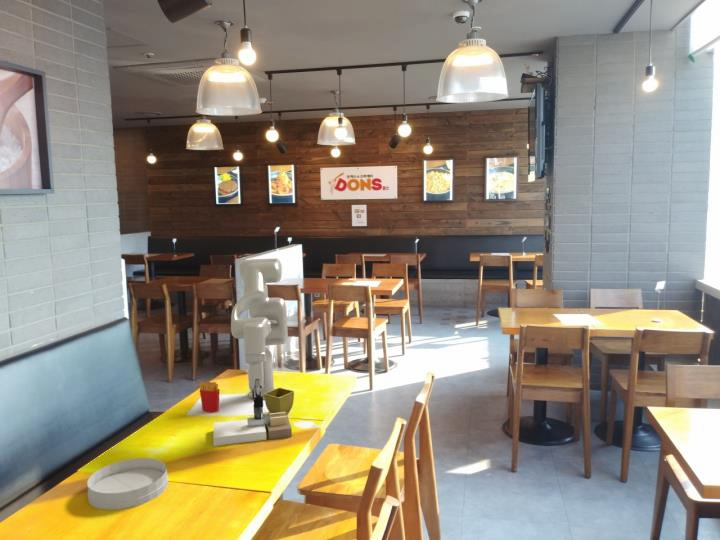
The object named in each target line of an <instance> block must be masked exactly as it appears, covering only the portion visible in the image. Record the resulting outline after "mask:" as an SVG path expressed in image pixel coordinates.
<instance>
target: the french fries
mask: <svg viewBox="0 0 720 540" xmlns="http://www.w3.org/2000/svg"><path fill="white" fill-rule="evenodd" d="M198 387H199V395H200V401H201V408H202V412H204V413H213V414H214V413H217V412H218V411H219V410H220V389H219V384H218V383H217V382H215V381H213V382H211V381H207V382H205V381H200V382H199V383H198Z"/></svg>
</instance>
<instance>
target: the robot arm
mask: <svg viewBox="0 0 720 540" xmlns="http://www.w3.org/2000/svg"><path fill="white" fill-rule="evenodd" d="M238 268H239V274H240V276H241V278H242V280H243V296H241V298H239V299H238V300H237V302H236V303H235V305H234V306H233V308H232V311H231V319H230V323H231V325H230V330H231V332H230V333H231V335H232V337H234V339H238V340H239V339H240V340H241V339H243V348H244V349H243V351H244V352H243V353H244V362H245V363H246V364H247V374H248V375H247V377H248V389H249V392H248V395H247V397H248V398H249V399H251V400H253V405H254V406H253V409H254V408H259V407H264V400H265V398H264V393H267V392H269V391H272V390H274V389H275V388H274V387H275V386H274V369H273V368H274V366H273V354H272V352H271V351H270V349H269V348H268V347H267V346H278V345H280V346H281V345H284V344H286V343H287V342H288V339H289V338H288V337H289V334H288V330H289V329H288V315H287V314H288V313H287V304H286V302H285V299H284V298H281V297H269V295H268V294H269V291H268V290H269V289H268V288H269V287H268V286H267V284H272V283H273V284H274V283H275V284H276V283H279V282H280V281H281V280H282V273H283V271H282V270H283V267H282V263H281V261H280V260H279V259H278V258H253V259H246V260H245V259H244V260H242V261H241V262H240V263H239V265H238ZM247 310H248V316H249V317H241V315H242V314H243V313H244V312H245V311H247ZM271 321H275V322H271Z"/></svg>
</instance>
